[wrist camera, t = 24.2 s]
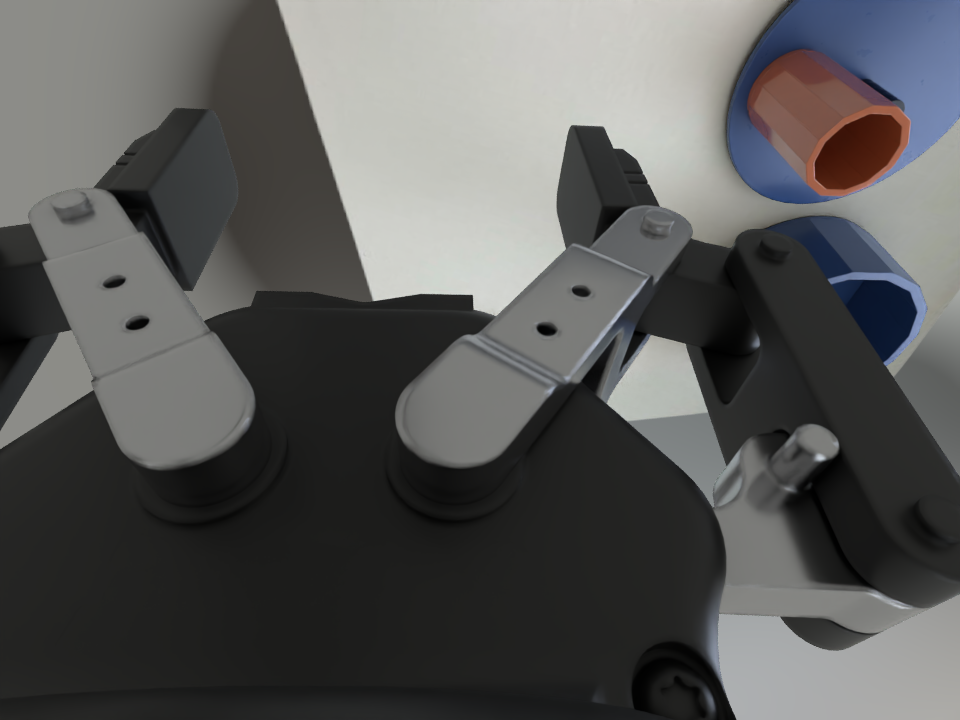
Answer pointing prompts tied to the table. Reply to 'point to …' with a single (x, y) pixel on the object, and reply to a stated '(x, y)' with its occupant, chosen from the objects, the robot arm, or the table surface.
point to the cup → (827, 122)
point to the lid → (870, 57)
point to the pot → (863, 280)
